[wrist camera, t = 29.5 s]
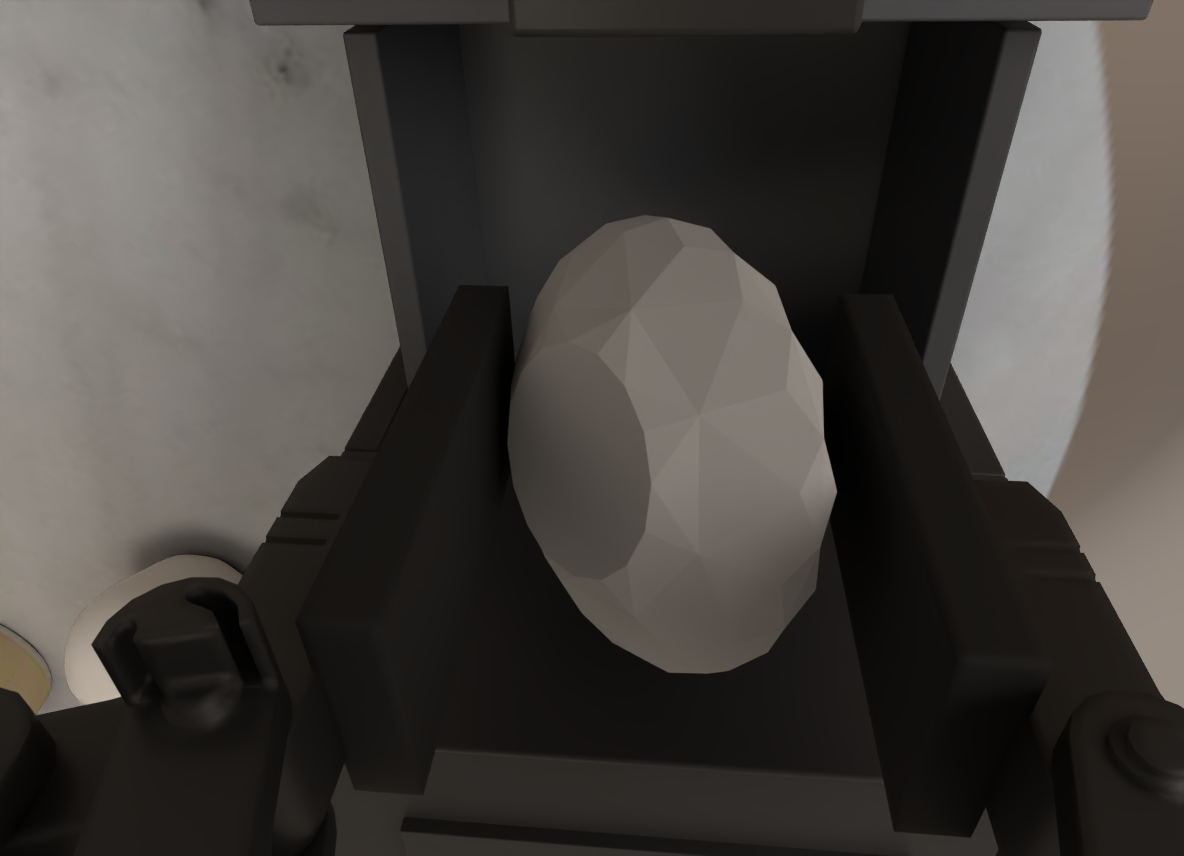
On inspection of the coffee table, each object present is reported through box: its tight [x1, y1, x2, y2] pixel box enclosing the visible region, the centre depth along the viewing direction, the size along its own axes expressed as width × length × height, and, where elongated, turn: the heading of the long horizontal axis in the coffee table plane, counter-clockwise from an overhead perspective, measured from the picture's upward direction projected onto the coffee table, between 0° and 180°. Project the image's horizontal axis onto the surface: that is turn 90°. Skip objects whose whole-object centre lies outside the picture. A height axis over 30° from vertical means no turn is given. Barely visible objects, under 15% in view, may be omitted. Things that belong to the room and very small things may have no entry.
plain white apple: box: [65, 554, 243, 705], centre depth 32 cm, size 7×7×8 cm
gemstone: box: [507, 215, 837, 674], centre depth 12 cm, size 6×6×5 cm
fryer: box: [331, 346, 1008, 856], centre depth 22 cm, size 14×14×16 cm
